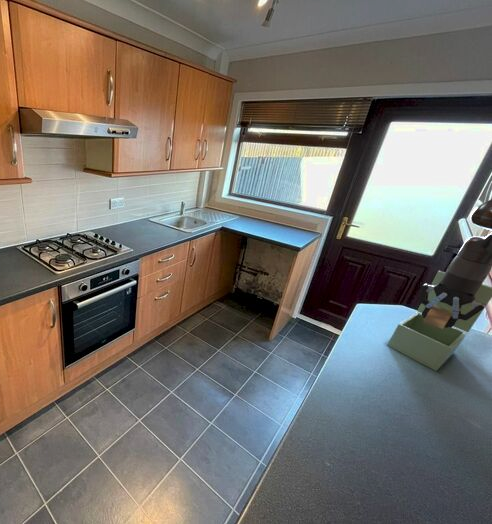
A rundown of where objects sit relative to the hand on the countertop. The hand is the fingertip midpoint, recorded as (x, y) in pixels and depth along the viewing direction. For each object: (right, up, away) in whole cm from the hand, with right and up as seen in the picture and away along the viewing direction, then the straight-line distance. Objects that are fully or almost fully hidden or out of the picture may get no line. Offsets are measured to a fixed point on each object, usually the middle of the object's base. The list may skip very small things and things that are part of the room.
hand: (435, 321), depth 87 cm
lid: (+7, +6, +2) cm, 10 cm away
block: (0, 0, 0) cm, 0 cm away
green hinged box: (+1, -11, +6) cm, 12 cm away
